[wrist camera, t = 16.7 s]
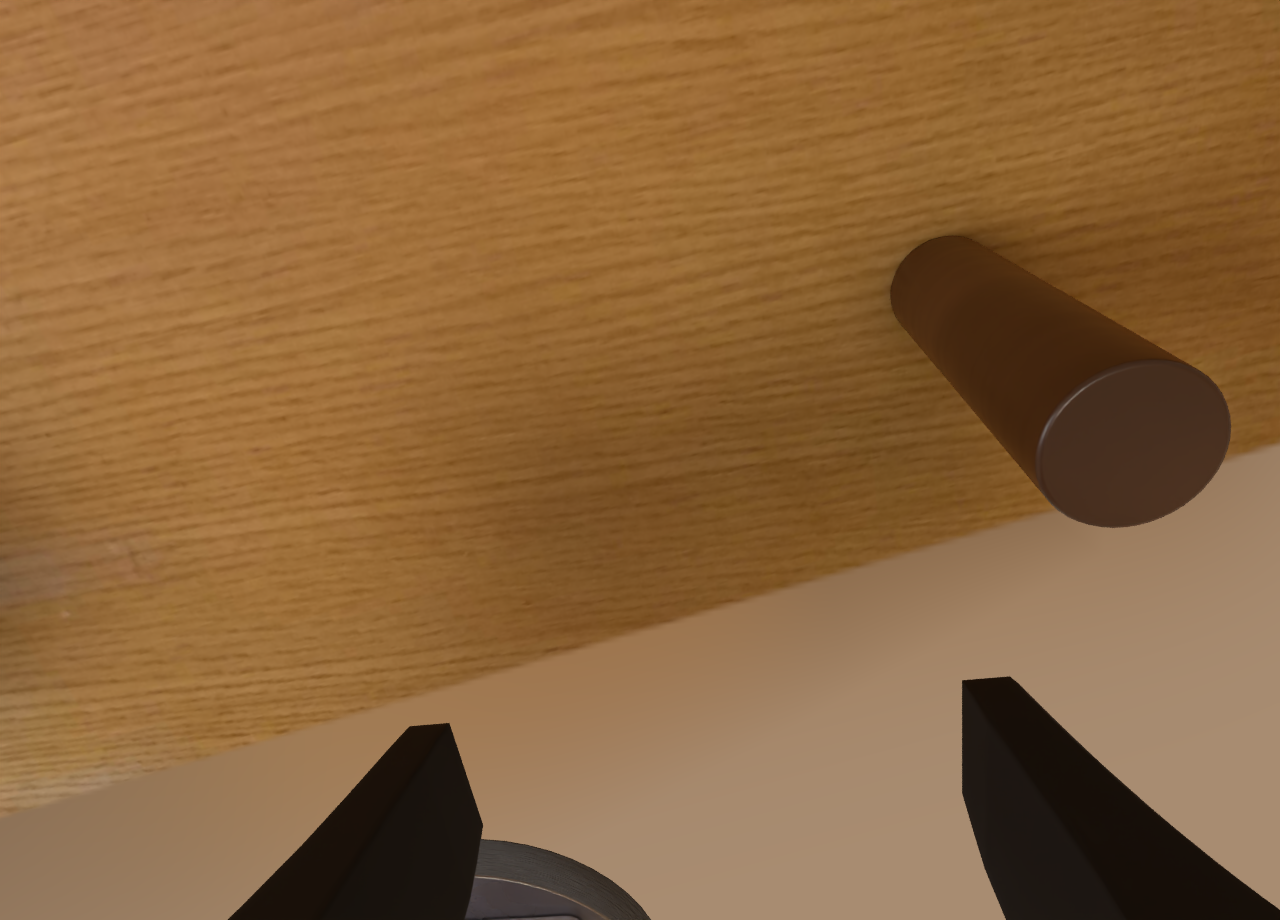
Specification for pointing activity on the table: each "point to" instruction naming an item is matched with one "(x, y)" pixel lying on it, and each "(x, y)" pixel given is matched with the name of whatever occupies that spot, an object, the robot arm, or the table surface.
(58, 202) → the table surface
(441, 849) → the robot arm
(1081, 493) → the brown wooden dowel
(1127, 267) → the table surface
